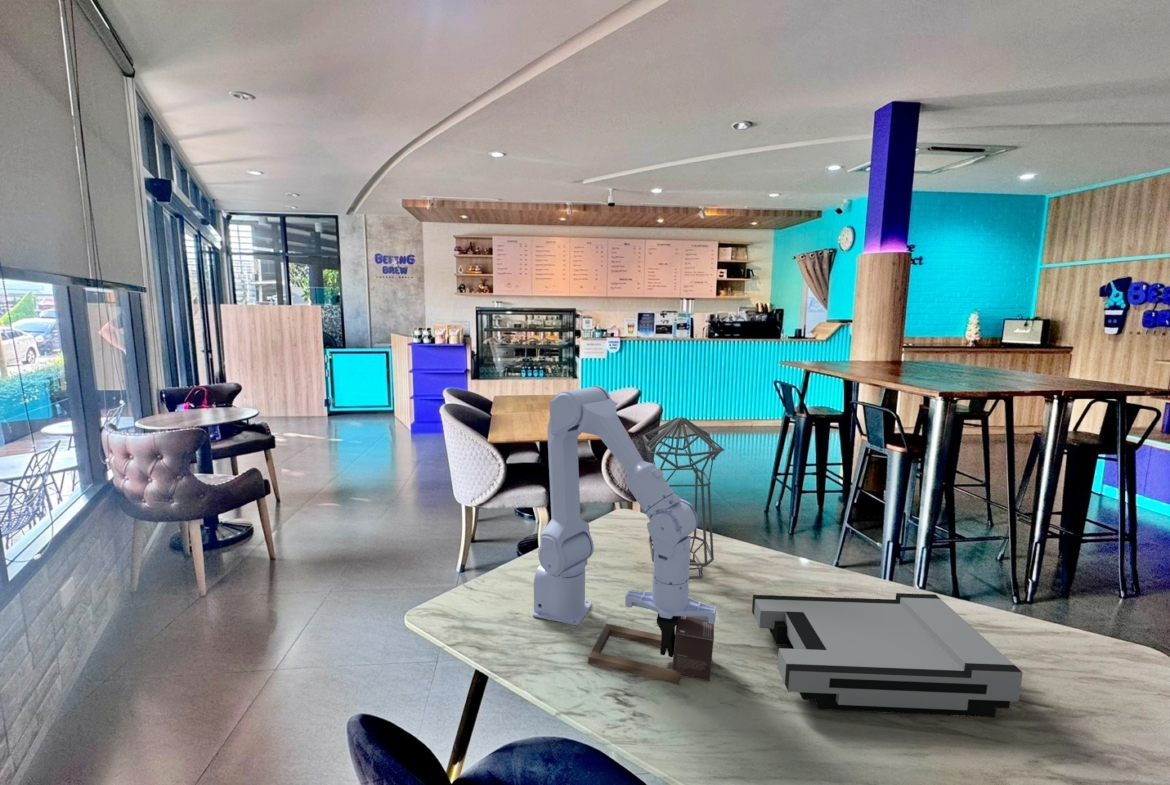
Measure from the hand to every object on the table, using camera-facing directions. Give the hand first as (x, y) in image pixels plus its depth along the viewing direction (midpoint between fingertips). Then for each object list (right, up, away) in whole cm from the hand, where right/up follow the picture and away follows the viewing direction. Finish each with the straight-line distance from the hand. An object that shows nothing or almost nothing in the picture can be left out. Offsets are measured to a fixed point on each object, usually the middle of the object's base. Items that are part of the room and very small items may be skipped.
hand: (668, 652), depth 89 cm
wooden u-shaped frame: (-4, -1, +2) cm, 5 cm away
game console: (+32, -3, -1) cm, 32 cm away
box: (+4, -2, -1) cm, 4 cm away
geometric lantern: (+7, +3, +31) cm, 32 cm away
